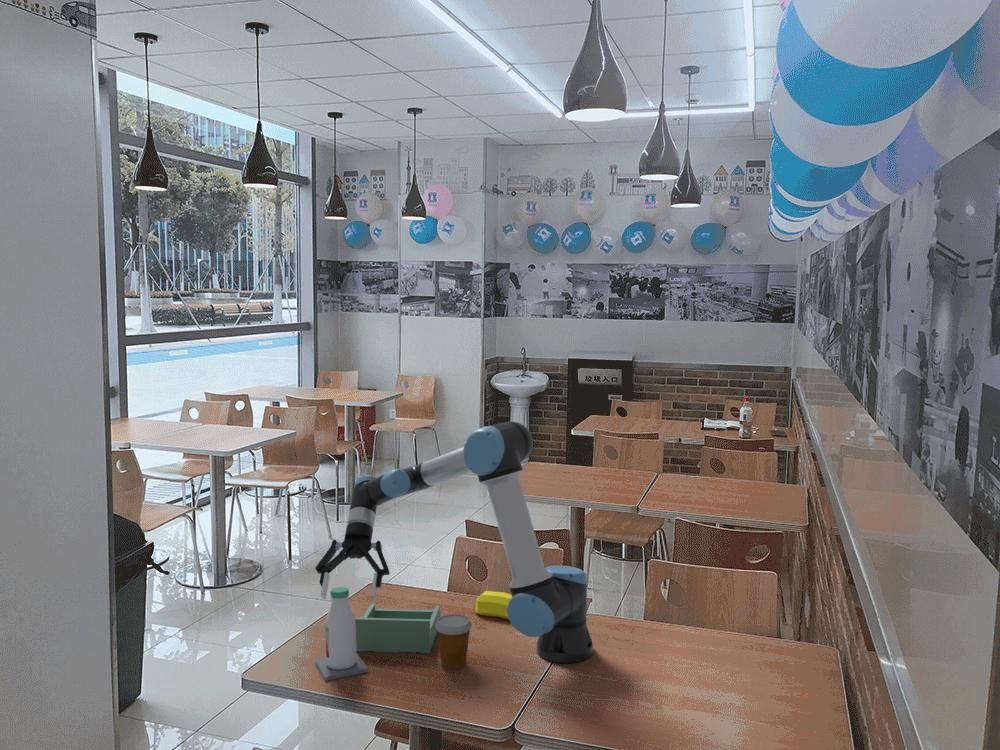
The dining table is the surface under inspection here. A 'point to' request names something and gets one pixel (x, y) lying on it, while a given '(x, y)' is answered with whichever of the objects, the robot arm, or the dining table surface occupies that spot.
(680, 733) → the dining table surface
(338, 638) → the milk bottle
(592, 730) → the dining table surface
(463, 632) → the disposable coffee cup
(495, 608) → the yellow faceted block
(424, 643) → the green wooden frame
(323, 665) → the slate tile
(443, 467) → the robot arm
